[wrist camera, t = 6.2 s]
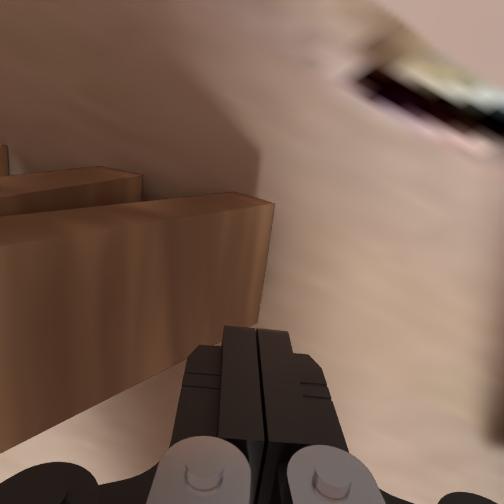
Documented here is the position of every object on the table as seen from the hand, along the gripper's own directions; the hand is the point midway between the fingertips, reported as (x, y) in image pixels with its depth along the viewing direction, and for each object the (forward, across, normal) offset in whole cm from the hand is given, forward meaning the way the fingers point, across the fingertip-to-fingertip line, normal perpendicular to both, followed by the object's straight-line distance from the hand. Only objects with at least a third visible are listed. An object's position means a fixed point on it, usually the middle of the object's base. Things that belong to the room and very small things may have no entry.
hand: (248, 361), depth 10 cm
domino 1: (+7, 0, 0) cm, 7 cm away
